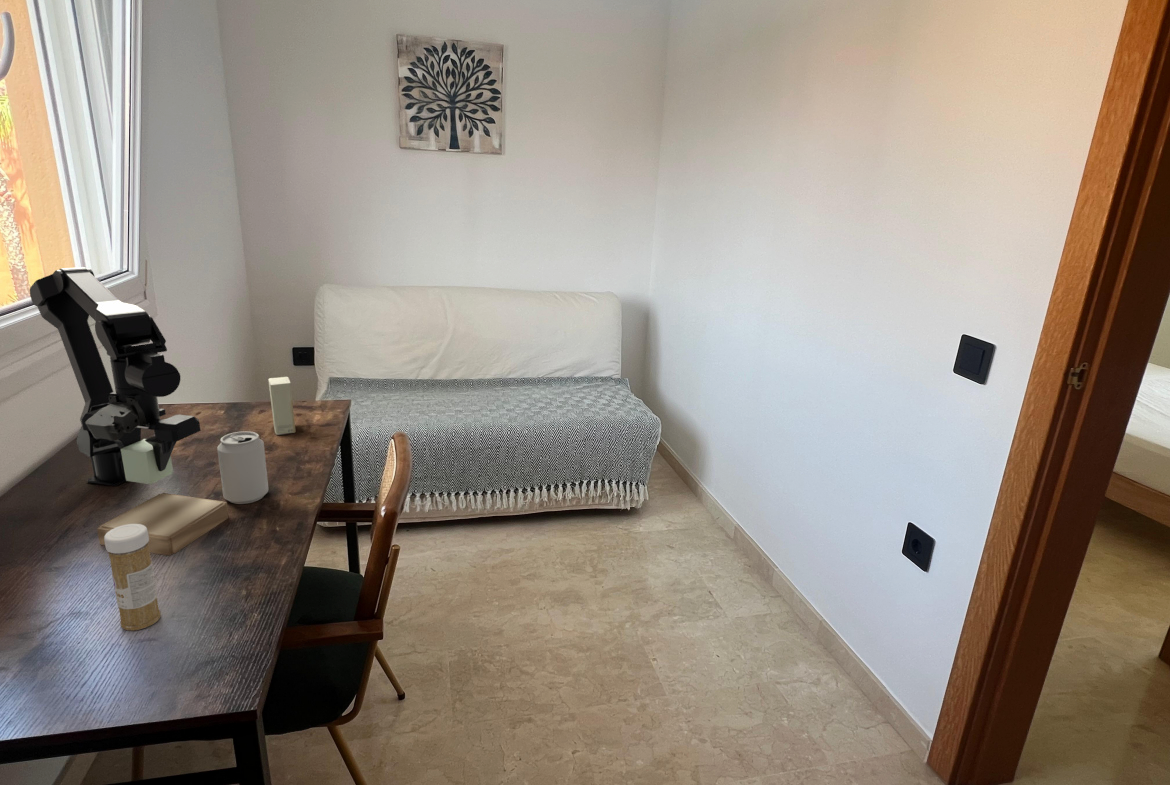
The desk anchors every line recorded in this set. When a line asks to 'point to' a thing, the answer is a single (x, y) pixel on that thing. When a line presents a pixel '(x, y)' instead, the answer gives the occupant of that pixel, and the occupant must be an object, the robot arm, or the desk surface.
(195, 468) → the desk surface
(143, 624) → the sprinkles bottle
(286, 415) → the skincare box
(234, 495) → the can
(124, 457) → the green block
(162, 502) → the base slab
